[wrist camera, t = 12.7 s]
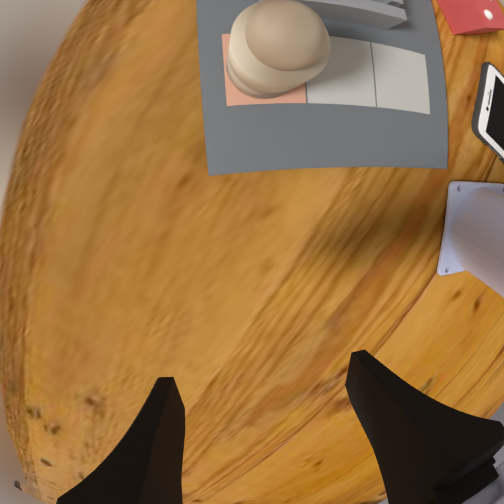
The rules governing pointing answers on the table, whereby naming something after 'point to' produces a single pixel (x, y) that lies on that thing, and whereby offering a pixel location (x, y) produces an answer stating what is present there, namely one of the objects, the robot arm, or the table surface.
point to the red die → (472, 16)
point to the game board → (332, 93)
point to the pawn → (276, 48)
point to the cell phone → (490, 109)
